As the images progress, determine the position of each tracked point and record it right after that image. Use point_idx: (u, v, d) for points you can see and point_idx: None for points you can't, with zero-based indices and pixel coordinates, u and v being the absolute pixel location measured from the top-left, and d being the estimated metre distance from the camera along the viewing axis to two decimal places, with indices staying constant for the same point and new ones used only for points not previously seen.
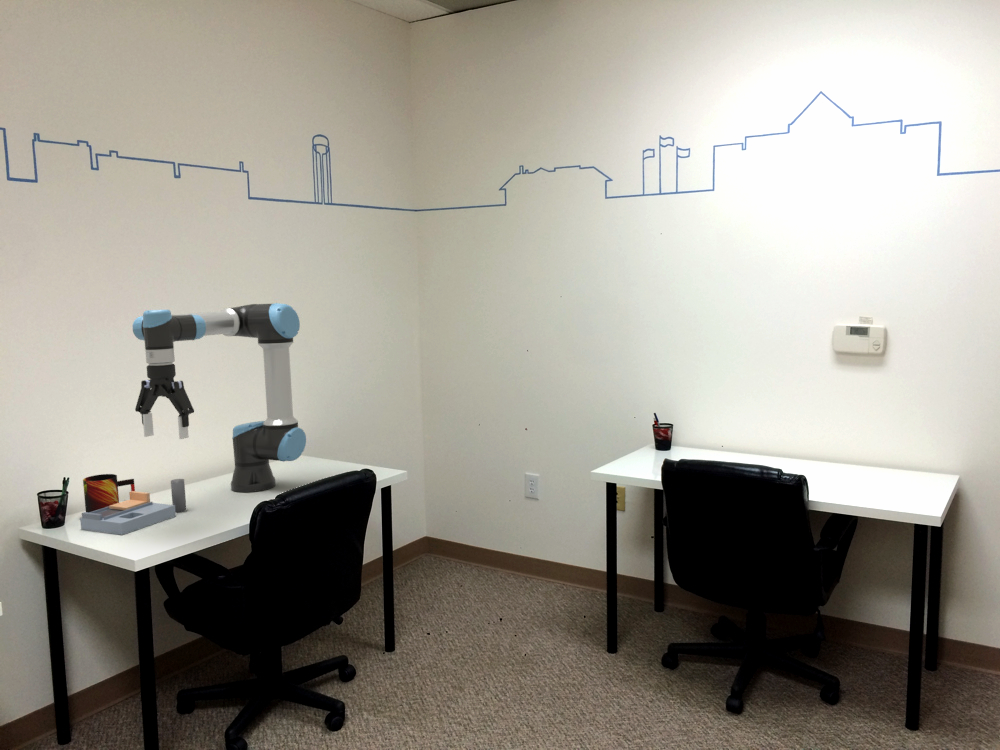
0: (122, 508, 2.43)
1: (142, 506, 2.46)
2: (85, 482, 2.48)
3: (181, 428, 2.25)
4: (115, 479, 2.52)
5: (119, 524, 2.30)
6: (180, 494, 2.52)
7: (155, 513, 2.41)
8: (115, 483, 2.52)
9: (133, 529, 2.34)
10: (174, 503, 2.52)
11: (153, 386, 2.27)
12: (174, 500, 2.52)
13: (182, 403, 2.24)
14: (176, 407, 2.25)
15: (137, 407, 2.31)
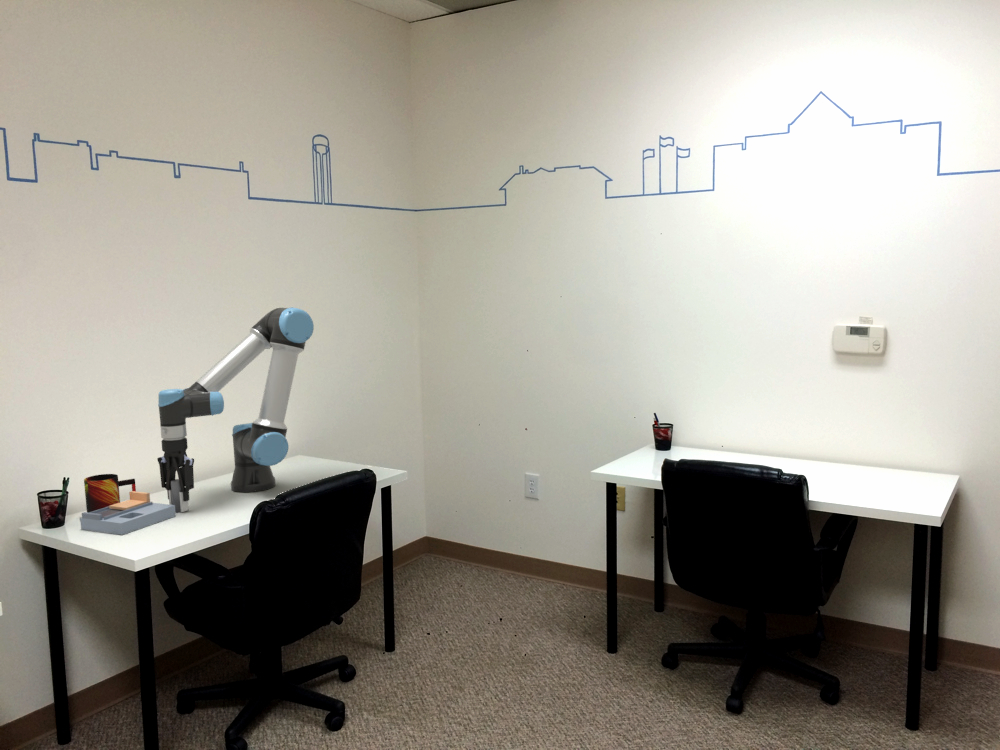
0: (122, 508, 2.43)
1: (142, 506, 2.46)
2: (86, 482, 2.48)
3: (182, 502, 2.52)
4: (116, 479, 2.52)
5: (119, 524, 2.30)
6: None
7: (155, 513, 2.41)
8: (116, 483, 2.52)
9: (133, 529, 2.34)
10: (174, 503, 2.52)
11: (167, 458, 2.51)
12: (174, 500, 2.52)
13: (186, 480, 2.50)
14: (180, 482, 2.51)
15: (162, 483, 2.54)
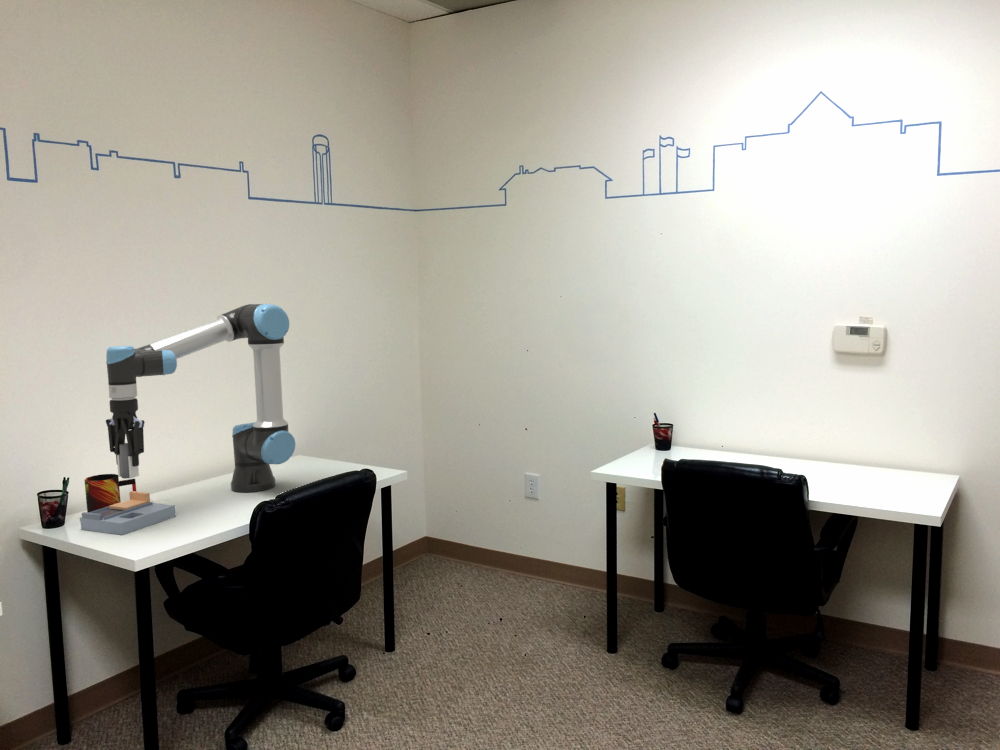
0: (122, 508, 2.43)
1: (142, 506, 2.46)
2: (87, 482, 2.48)
3: (131, 467, 2.35)
4: (116, 479, 2.52)
5: (119, 524, 2.30)
6: None
7: (155, 513, 2.41)
8: (116, 483, 2.52)
9: (133, 529, 2.34)
10: (122, 468, 2.35)
11: (115, 420, 2.34)
12: (122, 465, 2.35)
13: (135, 443, 2.33)
14: (129, 445, 2.34)
15: (111, 447, 2.37)
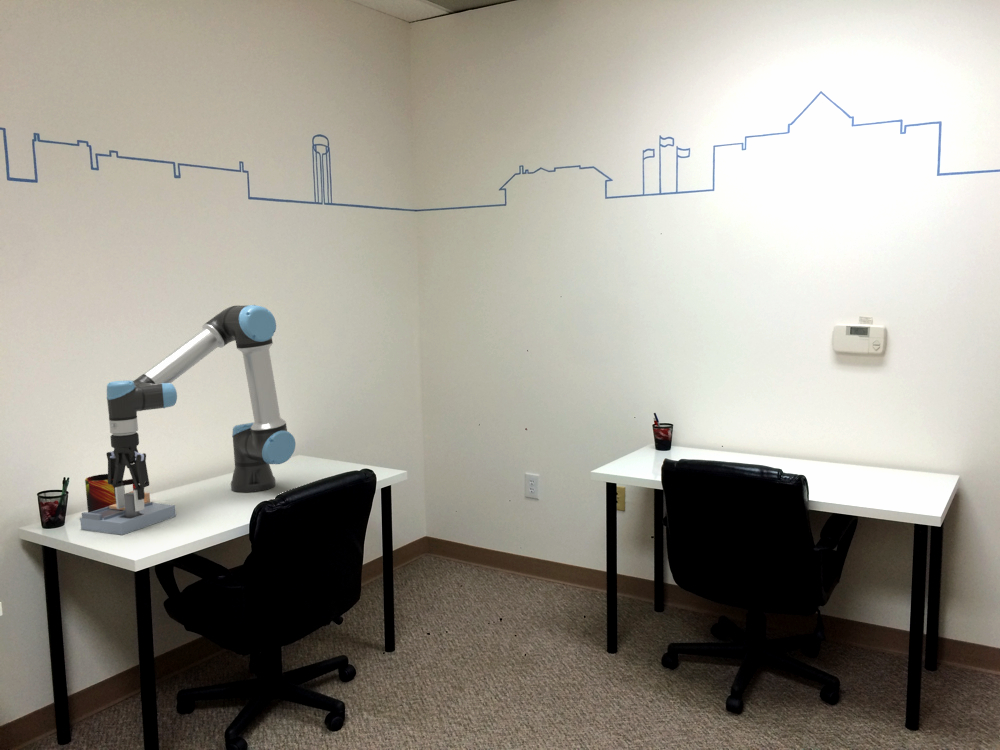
0: (122, 508, 2.43)
1: None
2: (87, 482, 2.48)
3: (137, 501, 2.35)
4: None
5: (119, 524, 2.30)
6: (133, 509, 2.36)
7: (155, 513, 2.41)
8: None
9: (133, 529, 2.34)
10: None
11: (117, 455, 2.34)
12: (127, 515, 2.36)
13: (140, 476, 2.33)
14: (134, 479, 2.34)
15: (109, 480, 2.38)
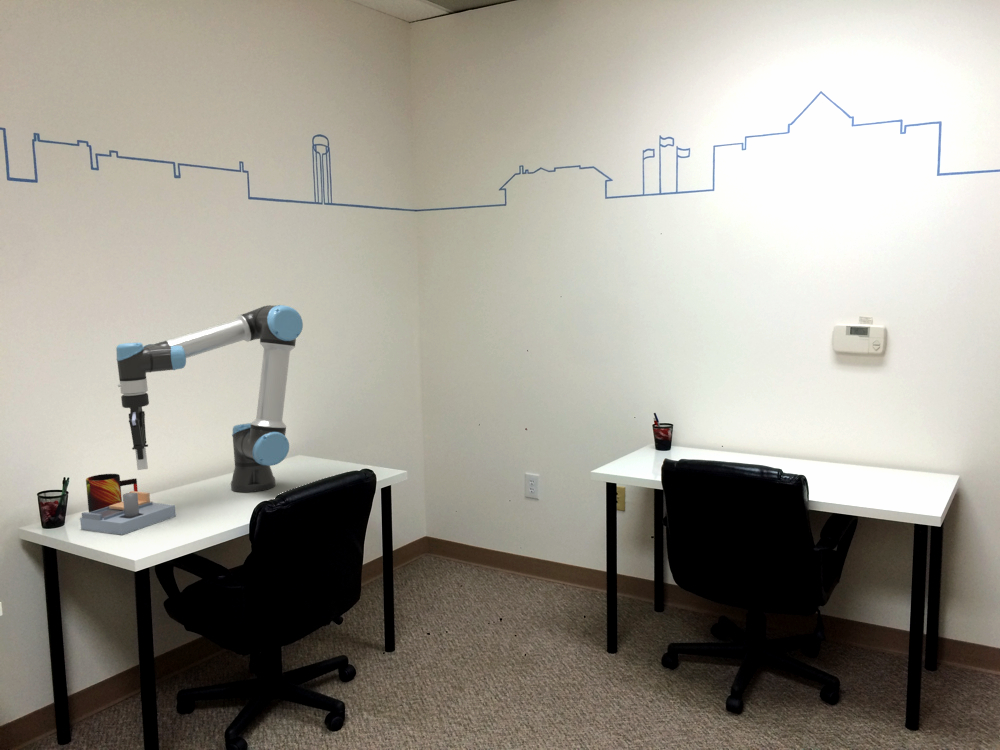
0: (122, 508, 2.43)
1: (142, 506, 2.46)
2: (88, 482, 2.48)
3: (137, 460, 2.44)
4: (118, 479, 2.52)
5: (119, 524, 2.30)
6: (133, 509, 2.36)
7: (155, 513, 2.41)
8: (118, 483, 2.52)
9: (133, 529, 2.34)
10: None
11: None
12: (126, 515, 2.36)
13: None
14: None
15: None
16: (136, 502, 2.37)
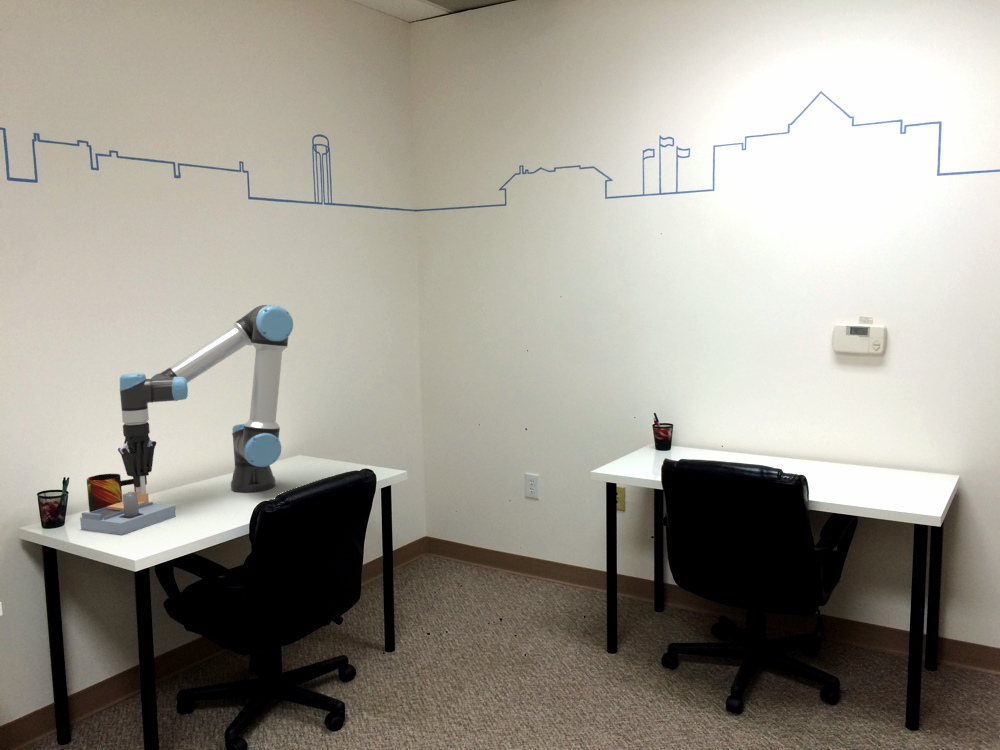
0: (121, 508, 2.42)
1: (142, 506, 2.46)
2: (89, 482, 2.48)
3: (136, 487, 2.51)
4: (119, 479, 2.52)
5: (119, 524, 2.30)
6: (133, 510, 2.36)
7: (155, 513, 2.41)
8: (119, 483, 2.52)
9: (133, 529, 2.34)
10: None
11: None
12: (126, 515, 2.36)
13: None
14: None
15: None
16: (136, 502, 2.37)
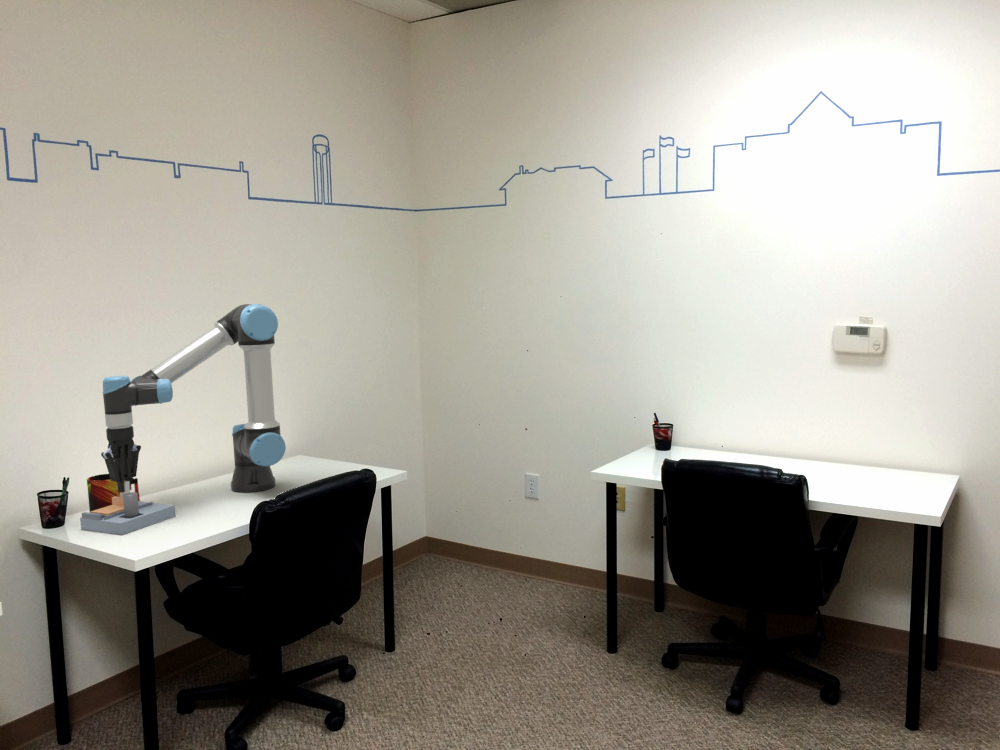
0: (104, 514, 2.37)
1: (142, 506, 2.46)
2: (89, 482, 2.48)
3: (120, 492, 2.46)
4: None
5: (119, 524, 2.30)
6: (133, 510, 2.36)
7: (155, 513, 2.41)
8: None
9: (133, 529, 2.34)
10: None
11: None
12: (126, 515, 2.36)
13: None
14: None
15: None
16: (136, 502, 2.37)
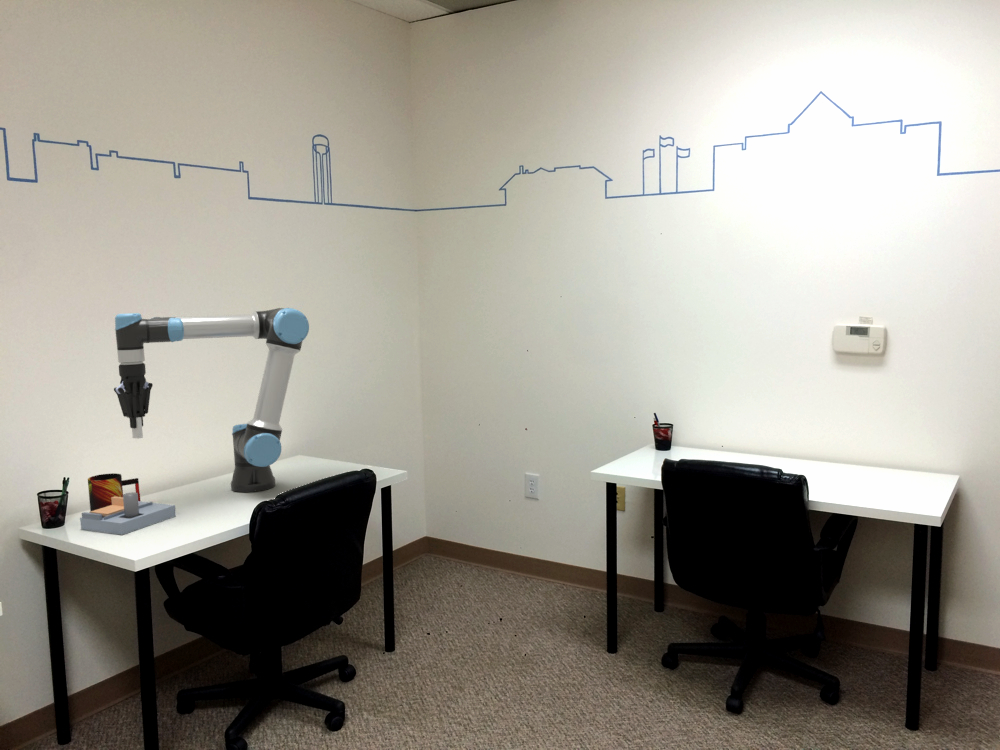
0: (103, 514, 2.37)
1: (142, 506, 2.46)
2: (90, 482, 2.48)
3: (132, 428, 2.49)
4: (120, 478, 2.52)
5: (119, 524, 2.30)
6: (133, 509, 2.36)
7: (155, 513, 2.41)
8: (120, 482, 2.52)
9: (133, 529, 2.34)
10: None
11: None
12: (126, 515, 2.36)
13: None
14: None
15: None
16: (136, 502, 2.37)
